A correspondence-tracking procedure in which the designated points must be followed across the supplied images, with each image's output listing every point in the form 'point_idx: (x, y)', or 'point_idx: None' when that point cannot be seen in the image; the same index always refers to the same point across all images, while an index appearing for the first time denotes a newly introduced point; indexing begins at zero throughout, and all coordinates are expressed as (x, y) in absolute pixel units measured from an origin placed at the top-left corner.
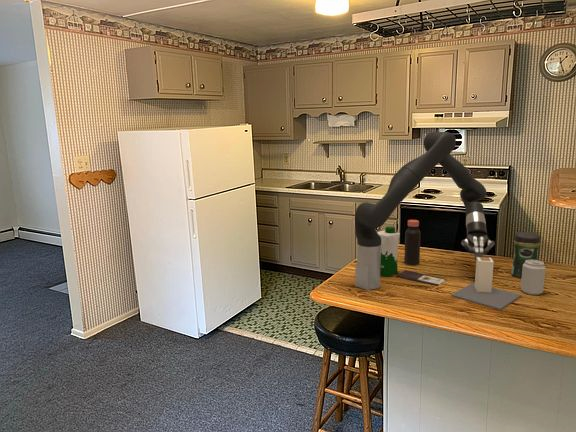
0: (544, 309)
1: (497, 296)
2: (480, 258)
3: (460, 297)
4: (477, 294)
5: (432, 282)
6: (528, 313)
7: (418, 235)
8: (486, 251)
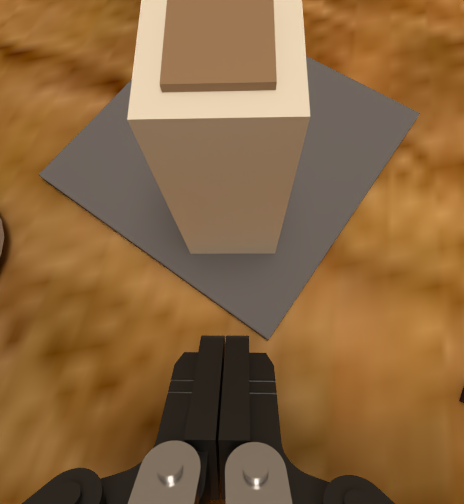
0: (13, 52)
1: None
2: (274, 40)
3: (369, 88)
4: None
5: None
6: (100, 7)
7: None
8: (77, 472)
